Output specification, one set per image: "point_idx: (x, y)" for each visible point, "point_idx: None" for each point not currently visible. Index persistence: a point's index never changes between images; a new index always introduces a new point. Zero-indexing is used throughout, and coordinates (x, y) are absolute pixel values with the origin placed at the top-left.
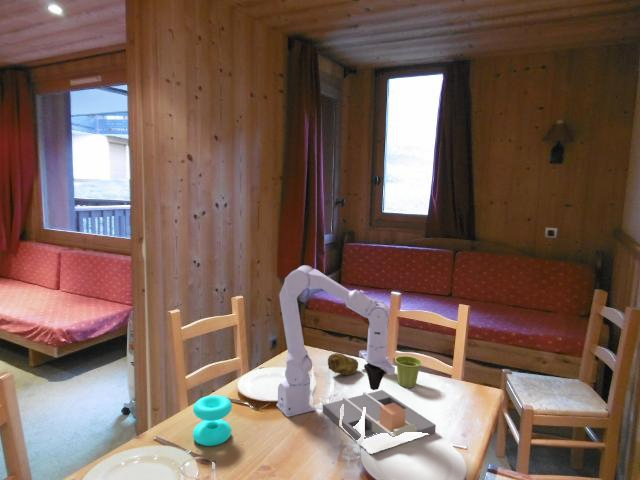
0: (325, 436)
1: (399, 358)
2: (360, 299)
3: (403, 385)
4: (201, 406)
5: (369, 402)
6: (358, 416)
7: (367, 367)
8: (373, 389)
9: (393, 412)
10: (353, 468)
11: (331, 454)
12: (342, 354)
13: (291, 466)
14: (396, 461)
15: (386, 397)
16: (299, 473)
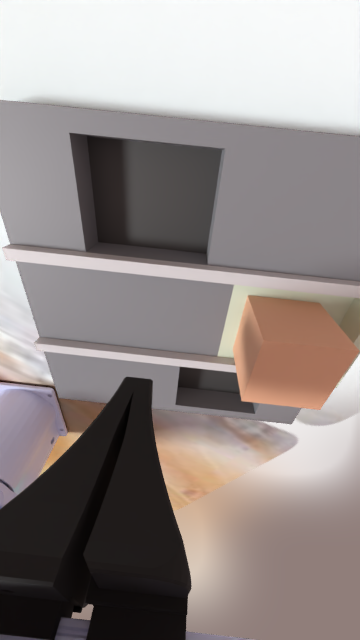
0: (167, 421)
1: None
2: None
3: None
4: None
5: (89, 279)
6: (162, 369)
7: (83, 606)
8: (151, 407)
9: (316, 397)
10: (284, 439)
11: (225, 440)
12: None
13: (209, 479)
14: (348, 381)
15: (68, 158)
16: (230, 480)
